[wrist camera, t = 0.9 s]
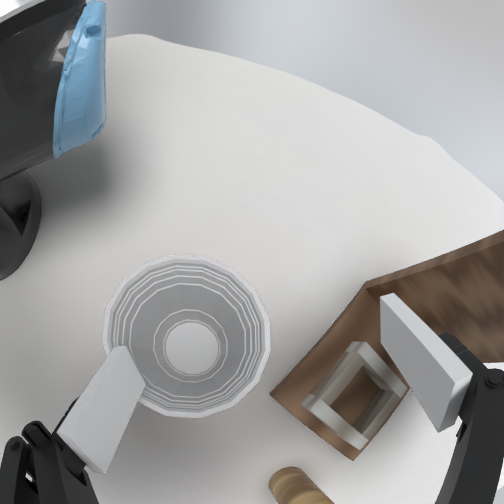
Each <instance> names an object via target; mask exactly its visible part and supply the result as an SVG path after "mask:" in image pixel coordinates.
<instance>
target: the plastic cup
mask: <svg viewBox="0 0 504 504" xmlns="http://www.w3.org/2000/svg"><path fill="white" fill-rule="evenodd" d="M102 343H103V346H104V350H105V353H106V357H108V355H109V354H110V353H111V351H112V350H113V348H114V347H118V346H126V347H127V349H128V351H129V353H130V355H131V357H132V359H133V361H134V363H135V365H136V367H137V369H138V371H139V373H140V375H141V377H142V378H143V380H144V382H145V384H146V385H145V387H144V389H143V392H142V394H141V396H140V398H139V400H138V402H139V403H141V404H143V405H145V406H147V407H148V408H150V409H152V410H154V411H156V412H158V413H160V414H162V415H164V416H172V417H186V418H203V417H206V416H209V415H212V414H215V413H218V412H220V411H223V410H226V409H228V408H231V407H233V406H235V405H236V404H237V403H238V402H239V401H240V400H241V399H242V398H243V397H244V396H245V395H246V394H247V393H248V392H249V391H250V390H251V389H252V388H253V387H254V386H255V385H256V384H257V383H258V382H259V380H260V378H261V375H262V373H263V370H264V367H265V365H266V362H267V360H268V357H269V355H270V352H271V347H270V320H269V317H268V315H267V313H266V311H265V309H264V306H263V304H262V302H261V300H260V298H259V295H258V293H257V291H256V290H255V289H254V288H253V287H252V286H251V285H250V284H249V283H248V282H247V281H246V280H245V279H244V278H243V277H242V276H241V275H240V274H239V273H238V272H237V271H236V270H235V269H234V268H231V267H229V266H227V265H225V264H222V263H220V262H218V261H216V260H213V259H211V258H209V257H207V256H199V255H184V254H173V255H169V256H166V257H162V258H159V259H156V260H152V261H149V262H146V263H144V264H143V265H142V266H140V267H139V268H138V269H136V270H135V271H134V272H133V273H131V274H130V275H129V276H127V277H126V278H125V279H124V280H122V281H121V283H120V284H119V286H118V288H117V290H116V291H115V293H114V295H113V296H112V298H111V300H110V302H109V303H108V305H107V307H106V310H105V318H104V325H103V334H102Z"/></svg>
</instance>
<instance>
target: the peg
mask: <svg viewBox="0 0 504 504" xmlns="http://www.w3.org/2000/svg"><path fill="white" fill-rule="evenodd" d="M269 488H270V490H271V492H272V494H273V495H274V497H275V499H276V500H277V502H278V503H279V504H334V503H333V502H332V501H331V500H330V499H329V498H328V497H327V496H326V495H325V494H324V493H323V492H322V491H321V490H320V489H319V488H318V487H317V486H316V485H315V483H314V482H313V481H312V480H311V479H310V478H309V477H308V476H307V475H306V474H305V473H304V472H303V471H302V470H301V469H299V468H296V467H288V468H284V469H282V470H280V471H278V472H276V473H275V474H274V475H273V476H272V477H271V479H270V481H269Z"/></svg>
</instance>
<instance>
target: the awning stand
mask: <svg viewBox="0 0 504 504" xmlns="http://www.w3.org/2000/svg"><path fill="white" fill-rule="evenodd" d="M391 293H394V294H395V295H396V296H397V297H399V298H400V299H401V300H402V301H403V302H404V303H405V304H406V305H407V306H408V307H409V308H410V309H411V310H412V311H413V312H414V313H415V314H416V315H417V316H418V317H419V318H420V319H421V320H422V321H423V322H424V323H425V324H426V325H427V326H428V327H429V328H430V329H431V330H432V331H433V332H434V333H435V334H436V335H437V336H438V335H440V334H443V333H445V332H446V333H448V334H451V335H453V336H455V337H456V338H457V339H458V340H460V341H461V342H462V344H463V345H465V346H466V347H467V348H468V350H470V351H471V352H472V353H473V354H474V355H475V356H476V357H477V358H478V359H479V360H480V361H481V362H482V363H498V362H504V230H502V231H500V232H497V233H495V234H493V235H491V236H488V237H486V238H483V239H481V240H479V241H476V242H474V243H471V244H469V245H466V246H464V247H461V248H459V249H456V250H454V251H451V252H449V253H446V254H443V255H441V256H438V257H435V258H433V259H430V260H427V261H424V262H422V263H419V264H416V265H413V266H411V267H408V268H405V269H402V270H399V271H396V272H393V273H390V274H387V275H384V276H381V277H378V278H375V279H372V280H369V281H366V283H365V284H364V285H363V287H362V288H361V289H360V291H359V292H358V293H357V295H356V296H355V297H354V298H353V300H352V301H351V302H350V304H349V305H348V306H347V307H346V309H345V310H344V311H343V312H342V314H341V315H340V316H339V317H338V319H337V320H336V321H335V322H334V323H333V325H332V326H331V327H330V328H329V329H328V331H327V332H326V333H325V334H324V335H323V337H322V338H321V339H320V340H319V341H318V342H317V344H316V345H315V346H314V347H313V348H312V349H311V350H310V351H309V353H308V354H307V355H306V356H305V357H304V358H303V359H302V360H301V361H300V363H299V364H298V365H297V366H296V367H295V368H294V369H293V370H292V371H291V372H290V373H289V374H288V375H287V377H286V378H285V379H284V380H283V381H282V382H281V383H280V384H279V385H278V386H277V387H276V388H275V389H274V390H273V391H272V392H271V393H270V395H271V396H272V397H273V398H274V399H275V400H277V401H278V402H279V403H280V404H281V405H282V406H283V407H285V408H286V409H287V410H288V411H289V412H290V413H292V414H293V415H294V416H295V417H296V418H298V419H299V420H300V421H301V422H302V423H304V424H305V425H306V426H307V427H309V428H310V429H311V430H312V431H314V432H315V433H316V434H317V435H319V436H320V437H321V438H322V439H324V440H325V441H326V442H328V443H329V444H330V445H332V446H333V447H334V448H336V449H337V450H338V451H340V452H341V453H342V454H344V455H345V456H346V457H348V458H349V459H351V460H352V461H354V460H355V458H356V457H357V456H358V455H359V454H360V453H361V452H362V451H363V449H364V448H365V447H366V446H367V445H368V444H369V442H370V441H371V440H372V439H373V438H374V436H375V435H376V434H377V433H378V431H379V430H380V429H381V428H382V426H383V425H384V424H385V423H386V421H387V420H388V419H389V417H390V416H391V415H392V413H393V412H394V410H395V409H396V408H397V406H398V405H399V403H400V402H401V401H402V399H403V398H404V396H405V395H406V393H407V392H408V390H409V389H410V386H409V385H408V383H407V382H406V380H405V378H404V377H403V375H402V374H401V372H400V371H399V369H398V368H397V366H396V365H395V363H394V362H393V360H392V359H391V357H390V356H389V354H388V353H387V351H386V350H385V348H384V347H383V345H382V344H381V319H380V297H381V296H384V295H388V294H391Z"/></svg>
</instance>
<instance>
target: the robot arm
mask: <svg viewBox="0 0 504 504" xmlns="http://www.w3.org/2000/svg"><path fill="white" fill-rule="evenodd" d="M105 44H106V4H105V3H104V2H102V1H96V0H92V1H90V2H88V3H87V4H86V0H0V280H1V279H3V278H5V277H7V276H9V275H10V274H11V273H13V272H14V271H15V270H16V269H17V268H18V267H19V265H20V264H21V263H22V262H23V260H24V259H25V257H26V256H27V254H28V252H29V250H30V249H31V246H32V244H33V242H34V239H35V237H36V234H37V230H38V226H39V221H40V214H41V201H40V195H39V191H38V188H37V186H36V184H35V183H34V181H33V180H32V179H31V178H30V177H29V176H28V174H27V173H26V172H25V171H24V170H26V169H28V168H30V167H33V166H35V165H37V164H39V163H41V162H44V161H46V160H48V159H51V158H53V157H54V158H55V159H57V158H59V157H60V156H61V155H62V153H64V152H67V151H69V150H71V149H73V148H76V147H78V146H81V145H83V144H85V143H88V142H90V141H92V140H93V139H95V138H96V137H97V136H98V135H99V133H100V132H101V130H102V129H103V126H104V123H105V118H106V84H105ZM380 319H381V344H382V345H383V347H384V348H385V350H386V351H387V353H388V354H389V356H390V357H391V359H392V360H393V362H394V363H395V365H396V366H397V368H398V369H399V371H400V372H401V374H402V375H403V377H404V378H405V380H406V382H407V383H408V385H409V386H410V388H411V389H412V391H413V393H414V394H415V396H416V397H417V399H418V401H419V402H420V404H421V405H422V407H423V409H424V410H425V412H426V414H427V415H428V417H429V419H430V420H431V422H432V424H433V425H434V427H435V429H436V430H437V432H438V433H439V432H441V431H443V430H445V429H446V428H448V427H450V426H452V425H454V424H455V421H456V419H457V417H458V415H459V417H460V418H461V420H462V421H463V422H462V424H461V426H460V428H459V431H458V433H457V435H456V437H458V439H457V442H456V446H455V449H454V453H453V456H452V459H451V463H450V466H449V469H448V471H447V474H446V477H445V480H444V482H443V485H442V488H441V490H440V493H439V495H438V498H437V500H436V502H435V504H493V500H494V497H495V493H496V490H497V486H498V482H499V478H500V473H501V469H502V464H503V458H504V371H502V370H501V369H496V368H494V369H488V368H487V367H486V366H485V365H484V364H483V363H482V362H481V361H480V360H479V359H478V358H477V357H476V356H475V355H474V354H473V353H472V352H471V351H470V350H468V348H467V347H466V346H465V345H463V344H462V342H461V341H460V340H458V339H457V338H456V337H455V336H453V335H451V334H448V333H446V332H445V333H443V334H440V335H438V336H437V335H436V334H435V333H434V332H433V331H432V330H431V329H430V328H429V327H428V326H427V325H426V324H425V323H424V322H423V321H422V320H421V319H420V318H419V317H418V316H417V315H416V314H415V313H414V312H413V311H412V310H411V309H410V308H409V307H408V306H407V305H406V304H405V303H404V302H403V301H402V300H401V299H400V298H399V297H397V296H396V295H395V294H394V293H391V294H388V295H384V296H381V297H380ZM145 385H146V384H145V382H144V380H143V378H142V377H141V375H140V373H139V371H138V369H137V367H136V365H135V363H134V361H133V359H132V357H131V355H130V353H129V351H128V349H127V347H126V346H118V347H114V348H113V350H112V351H111V353H110V354H109V355H108V357H107V358H106V360H105V361H104V362H103V364H102V365H101V367H100V368H99V369H98V371H97V372H96V374H95V375H94V377H93V378H92V379H91V381H90V382H89V384H88V385H87V387H86V388H85V390H84V391H83V393H82V394H81V396H79V397H78V398H77V399H76V400H75V401H73V403H72V404H71V406H70V407H69V409H68V410H67V412H66V413H65V416H63V418H62V419H61V421H60V422H59V424H58V425H57V427H56V428H55V430H54V432H53V433H52V435H51V433H50V432H49V431H48V430H47V429H46V427H45V426H44V425H43V424H42V423H41V422H40V421H32V422H30V423H29V424H27V425H26V426H25V427H24V429H23V430H22V434H21V435H22V436H23V437H24V438H25V439H26V440H27V442H28V443H29V444H27V443H26V442H25V441H24V440H23V439H22V438H21V437H20V436H15V437H12V438H11V439H9V441H8V442H7V444H6V446H5V450H4V454H3V458H2V462H1V467H0V504H99V503H98V500H97V498H96V495H95V493H94V490H93V487H92V485H91V482H90V479H89V476H88V474H87V472H86V471H85V470H84V467H85V465H87V466H88V467H89V468H90V469H91V470H92V471H93V472H97V473H101V474H107V471H108V469H109V467H110V464H111V462H112V459H113V457H114V455H115V452H116V450H117V448H118V445H119V443H120V441H121V438H122V436H123V434H124V431H125V429H126V427H127V425H128V422H129V420H130V418H131V416H132V413H133V411H134V409H135V407H136V405H137V402H138V400H139V398H140V396H141V394H142V392H143V389H144V387H145ZM26 473H27V474H28V475H30V476H31V477H32V482H31V481H29V480H28V479H27V478H26Z"/></svg>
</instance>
